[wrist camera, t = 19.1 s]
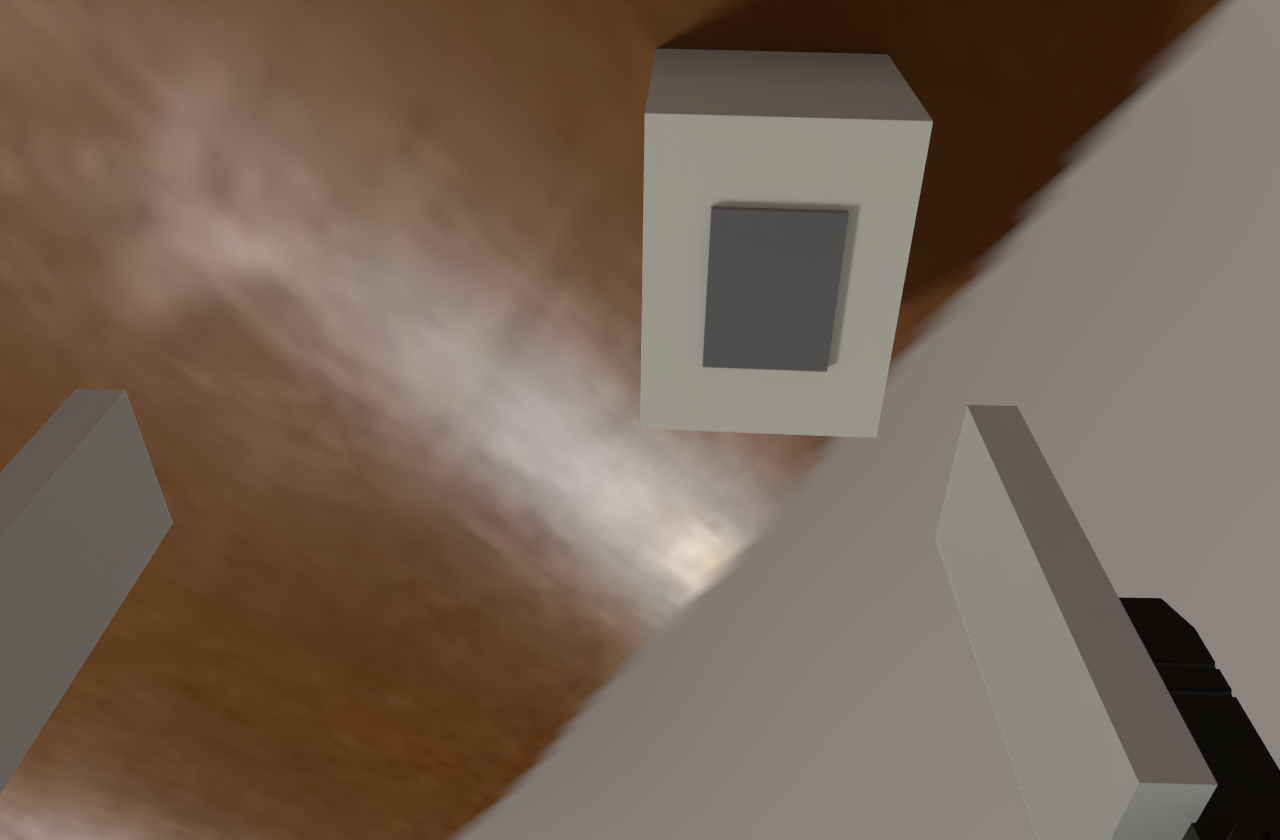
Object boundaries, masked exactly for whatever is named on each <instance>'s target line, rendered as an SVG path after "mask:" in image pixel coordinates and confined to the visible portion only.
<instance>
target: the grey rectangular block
mask: <svg viewBox="0 0 1280 840" xmlns="http://www.w3.org/2000/svg"><path fill="white" fill-rule="evenodd" d="M932 124H933V120H932V119H931V117H930V116H929V115H928V113H927V112H926V110H925V109H924V107H923V106H922V104H921V103H920V101H919V100H918V98H917V97H916V95H915V94H914V92H913V91H912V89H911V88H910V86H909V85H908V83H907V82H906V81H905V79H904V78H903V76H902V75H901V73H900V72H899V70H898V69H897V67H896V66H895V64H894V63H893V61H892V60H891V58H890V57H889V55H888V54H854V53H814V52H775V51H735V50H695V49H656V52H655V58H654V64H653V69H652V75H651V81H650V87H649V92H648V98H647V104H646V110H645V139H644V206H643V273H642V340H641V407H640V428H643V429H667V430H692V431H717V432H742V433H766V434H791V435H816V436H840V437H866V438H876V437H877V431H878V426H879V420H880V415H881V409H882V403H883V397H884V392H885V387H886V381H887V375H888V370H889V364H890V359H891V353H892V348H893V342H894V336H895V331H896V325H897V320H898V314H899V309H900V303H901V297H902V292H903V286H904V281H905V275H906V269H907V264H908V258H909V253H910V247H911V242H912V236H913V230H914V225H915V219H916V214H917V208H918V203H919V197H920V191H921V186H922V180H923V175H924V169H925V163H926V158H927V152H928V147H929V141H930V136H931V130H932Z"/></svg>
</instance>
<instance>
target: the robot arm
mask: <svg viewBox="0 0 1280 840" xmlns="http://www.w3.org/2000/svg"><path fill="white" fill-rule="evenodd" d="M172 524H173V522H172V520H171V517H170V514H169V511H168V508H167V506H166V503H165V500H164V497H163V494H162V491H161V489H160V486H159V483H158V480H157V477H156V475H155V472H154V469H153V466H152V463H151V461H150V458H149V455H148V452H147V449H146V447H145V444H144V441H143V438H142V435H141V432H140V430H139V427H138V424H137V421H136V418H135V416H134V413H133V410H132V407H131V404H130V402H129V399H128V396H127V393H126V390H109V389H76V390H75V392H74V393H73V394H72V395H71V396H70V397H69V398H68V399H67V400H66V401H65V402H64V403H63V405H62V406H61V407H60V408H59V409H58V410H57V411H56V412H55V413H54V414H53V415H52V416H51V418H50V419H49V420H48V421H47V422H46V423H45V424H44V425H43V426H42V427H41V428H40V430H39V431H38V432H37V433H36V434H35V435H34V436H33V437H32V438H31V439H30V440H29V441H28V443H27V444H26V445H25V446H24V447H23V448H22V449H21V450H20V451H19V452H18V453H17V454H16V456H15V457H14V458H13V459H12V460H11V461H10V462H9V463H8V464H7V465H6V466H5V468H4V469H3V470H2V471H1V472H0V794H1V792H2V791H3V789H4V787H5V786H6V784H7V783H8V781H9V780H10V778H11V776H12V775H13V773H14V772H15V770H16V769H17V767H18V765H19V764H20V762H21V761H22V759H23V758H24V756H25V754H26V753H27V751H28V750H29V748H30V747H31V745H32V743H33V742H34V740H35V739H36V737H37V736H38V734H39V733H40V731H41V729H42V728H43V726H44V725H45V723H46V722H47V720H48V718H49V717H50V715H51V714H52V712H53V711H54V709H55V707H56V706H57V704H58V703H59V701H60V700H61V698H62V696H63V695H64V693H65V692H66V690H67V689H68V687H69V685H70V684H71V682H72V681H73V679H74V678H75V676H76V674H77V673H78V671H79V670H80V668H81V667H82V665H83V664H84V662H85V660H86V659H87V657H88V656H89V654H90V653H91V651H92V649H93V648H94V646H95V645H96V643H97V642H98V640H99V638H100V637H101V635H102V634H103V632H104V631H105V629H106V627H107V626H108V624H109V623H110V621H111V620H112V618H113V616H114V615H115V613H116V612H117V610H118V609H119V607H120V605H121V604H122V602H123V601H124V599H125V598H126V596H127V595H128V593H129V591H130V590H131V588H132V587H133V585H134V584H135V582H136V580H137V579H138V577H139V576H140V574H141V573H142V571H143V569H144V568H145V566H146V565H147V563H148V562H149V560H150V558H151V557H152V555H153V554H154V552H155V551H156V549H157V547H158V546H159V544H160V543H161V541H162V540H163V538H164V536H165V535H166V533H167V532H168V530H169V529H170V527H171V526H172ZM935 541H936V544H937V547H938V550H939V553H940V556H941V559H942V562H943V565H944V567H945V571H946V573H947V576H948V579H949V582H950V585H951V588H952V591H953V594H954V597H955V600H956V603H957V606H958V609H959V612H960V615H961V618H962V621H963V624H964V627H965V630H966V633H967V636H968V639H969V641H970V644H971V648H972V651H973V653H974V656H975V659H976V662H977V665H978V668H979V671H980V674H981V677H982V680H983V683H984V686H985V689H986V692H987V695H988V698H989V701H990V703H991V707H992V710H993V713H994V716H995V719H996V722H997V725H998V727H999V731H1000V733H1001V736H1002V739H1003V742H1004V745H1005V748H1006V751H1007V754H1008V757H1009V760H1010V763H1011V766H1012V769H1013V772H1014V775H1015V778H1016V781H1017V783H1018V787H1019V790H1020V793H1021V796H1022V799H1023V802H1024V805H1025V807H1026V810H1027V813H1028V816H1029V819H1030V822H1031V825H1032V828H1033V831H1034V834H1035V837H1036V840H1280V770H1279V768H1278V767H1277V765H1276V763H1275V762H1274V760H1273V759H1272V757H1271V755H1270V753H1269V752H1268V750H1267V748H1266V747H1265V745H1264V743H1263V742H1262V740H1261V738H1260V737H1259V735H1258V733H1257V732H1256V730H1255V728H1254V726H1253V725H1252V723H1251V721H1250V720H1249V718H1248V716H1247V715H1246V713H1245V712H1244V710H1243V708H1242V706H1241V705H1240V703H1239V701H1238V700H1237V698H1236V697H1232V695H1231V691H1232V690H1231V688H1230V686H1229V685H1228V683H1227V681H1226V680H1225V678H1224V676H1223V675H1222V673H1221V671H1220V670H1219V669H1216V668H1215V661H1214V660H1213V658H1212V656H1211V655H1210V653H1209V651H1208V650H1207V648H1206V646H1205V645H1204V643H1203V641H1202V640H1201V638H1200V636H1199V635H1198V633H1197V631H1196V630H1195V628H1194V627H1192V626H1191V625H1190V624H1189V623H1188V622H1187V621H1186V620H1185V619H1184V618H1182V617H1181V616H1180V615H1179V614H1178V613H1177V612H1176V611H1174V609H1172V608H1171V607H1170V606H1169V605H1168V604H1167V603H1166V602H1165V601H1163V600H1162V599H1161V598H1118V596H1117V594H1116V592H1115V590H1114V588H1113V586H1112V584H1111V583H1110V581H1109V579H1108V577H1107V575H1106V573H1105V571H1104V569H1103V567H1102V566H1101V564H1100V562H1099V560H1098V558H1097V556H1096V554H1095V552H1094V551H1093V549H1092V547H1091V545H1090V543H1089V541H1088V539H1087V537H1086V536H1085V533H1084V532H1083V530H1082V528H1081V526H1080V524H1079V522H1078V520H1077V518H1076V517H1075V515H1074V513H1073V511H1072V509H1071V507H1070V505H1069V503H1068V502H1067V500H1066V498H1065V496H1064V494H1063V492H1062V490H1061V488H1060V486H1059V484H1058V483H1057V481H1056V479H1055V477H1054V475H1053V473H1052V471H1051V469H1050V468H1049V466H1048V464H1047V462H1046V460H1045V458H1044V456H1043V454H1042V452H1041V451H1040V449H1039V447H1038V445H1037V443H1036V441H1035V439H1034V437H1033V435H1032V434H1031V432H1030V430H1029V428H1028V426H1027V424H1026V422H1025V420H1024V419H1023V417H1022V415H1021V413H1020V411H1019V409H1018V407H1017V406H985V405H984V406H983V405H981V406H980V405H967V408H966V412H965V416H964V420H963V425H962V428H961V432H960V437H959V441H958V445H957V450H956V453H955V457H954V462H953V466H952V470H951V474H950V478H949V482H948V486H947V491H946V495H945V499H944V503H943V507H942V511H941V515H940V520H939V524H938V528H937V532H936V536H935Z"/></svg>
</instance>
